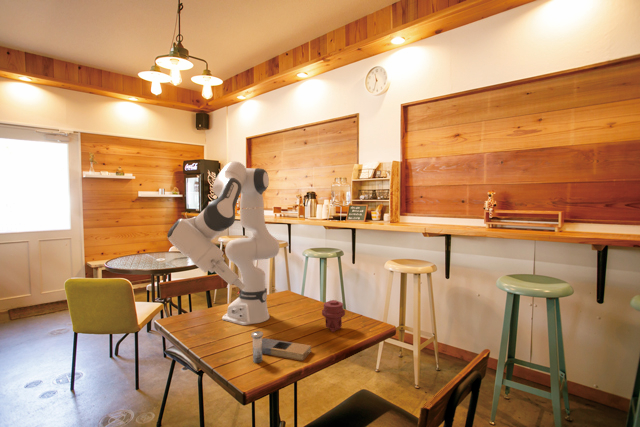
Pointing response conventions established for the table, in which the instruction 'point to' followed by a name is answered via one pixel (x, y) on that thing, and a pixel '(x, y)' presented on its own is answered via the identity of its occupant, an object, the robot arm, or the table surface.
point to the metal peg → (257, 346)
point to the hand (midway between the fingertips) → (241, 285)
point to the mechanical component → (333, 314)
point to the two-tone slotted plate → (291, 351)
